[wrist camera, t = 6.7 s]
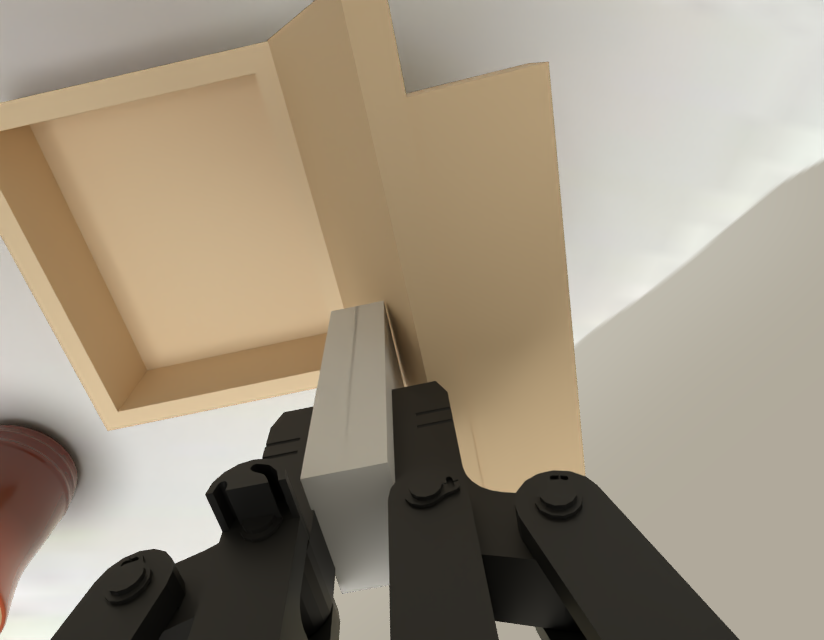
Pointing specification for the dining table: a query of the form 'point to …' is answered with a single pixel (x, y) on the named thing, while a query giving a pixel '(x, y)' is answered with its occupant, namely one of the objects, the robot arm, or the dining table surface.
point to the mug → (29, 500)
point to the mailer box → (170, 235)
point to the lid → (444, 229)
